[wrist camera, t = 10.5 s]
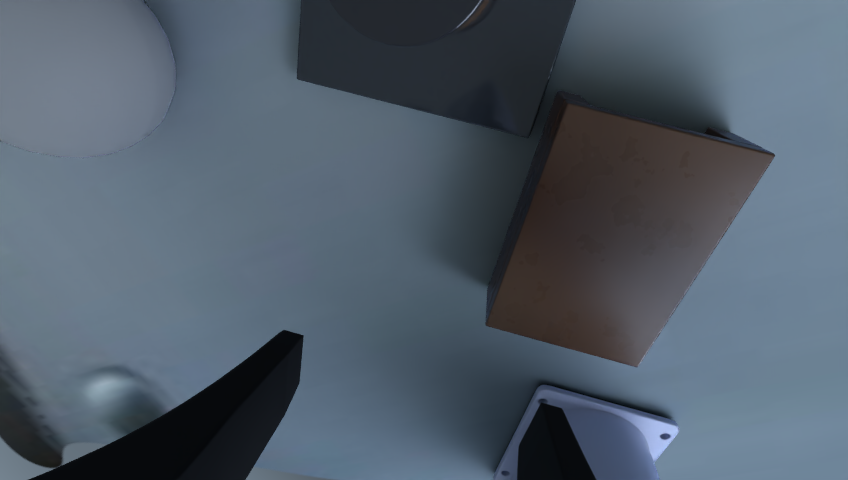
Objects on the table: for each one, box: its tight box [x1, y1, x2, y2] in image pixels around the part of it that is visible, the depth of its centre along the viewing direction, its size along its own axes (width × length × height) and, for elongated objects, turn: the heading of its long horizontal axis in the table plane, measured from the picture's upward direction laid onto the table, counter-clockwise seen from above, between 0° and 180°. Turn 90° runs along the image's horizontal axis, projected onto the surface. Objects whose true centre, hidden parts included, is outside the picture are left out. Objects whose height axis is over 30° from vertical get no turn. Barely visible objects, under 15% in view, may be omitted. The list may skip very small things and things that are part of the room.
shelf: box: [486, 90, 775, 367], centre depth 18 cm, size 10×7×3 cm
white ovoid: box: [0, 0, 176, 158], centre depth 16 cm, size 10×7×7 cm
